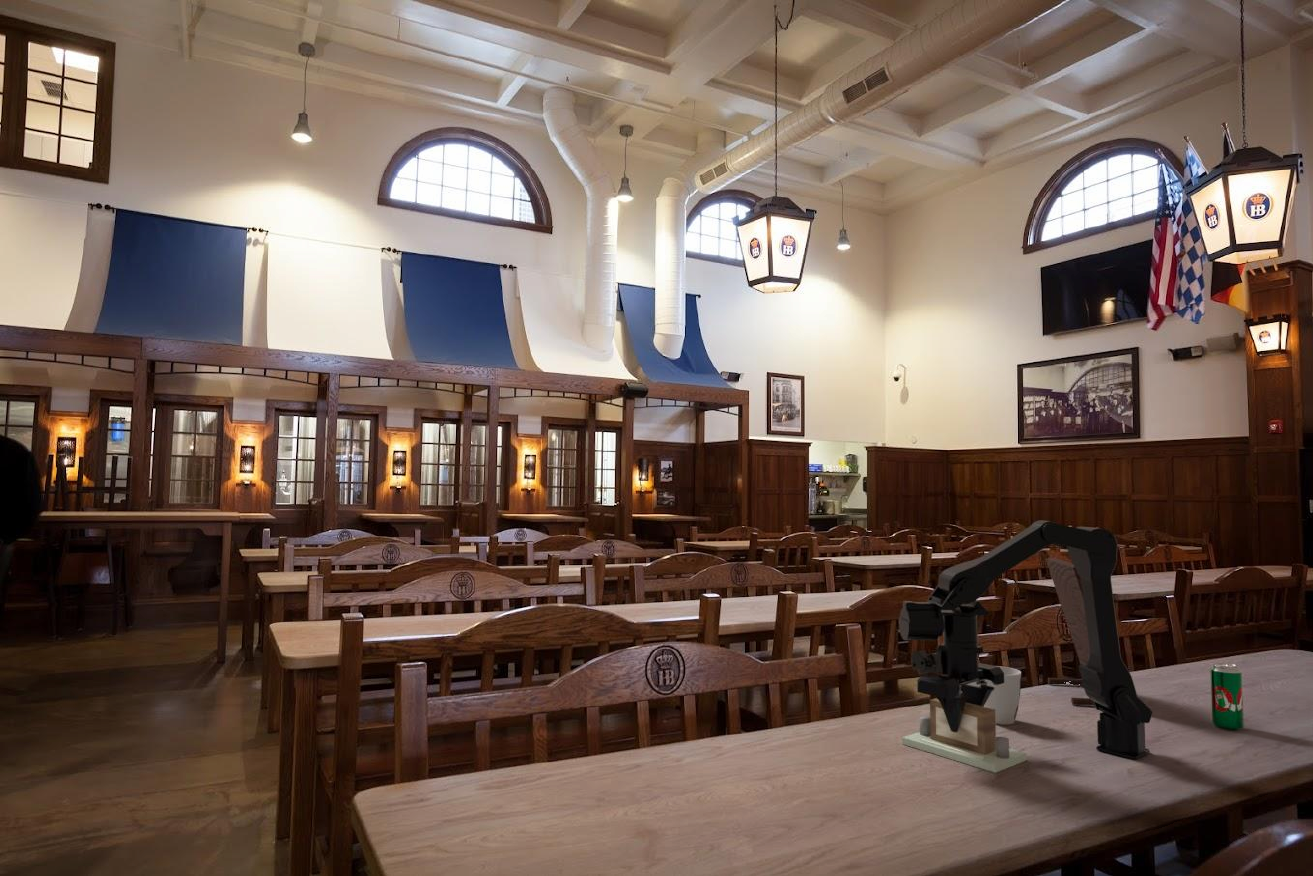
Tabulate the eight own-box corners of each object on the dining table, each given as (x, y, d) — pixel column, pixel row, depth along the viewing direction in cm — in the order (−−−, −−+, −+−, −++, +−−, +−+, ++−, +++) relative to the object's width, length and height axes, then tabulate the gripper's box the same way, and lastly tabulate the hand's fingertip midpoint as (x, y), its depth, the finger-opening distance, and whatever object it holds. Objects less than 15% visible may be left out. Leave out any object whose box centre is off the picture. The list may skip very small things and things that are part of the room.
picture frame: (1128, 709, 167) (1123, 566, 169) (1074, 706, 169) (1070, 565, 171) (1094, 685, 187) (1090, 558, 189) (1046, 683, 189) (1043, 557, 191)
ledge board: (1026, 760, 136) (1026, 735, 136) (995, 772, 130) (994, 746, 130) (934, 733, 150) (934, 711, 150) (902, 744, 144) (901, 720, 144)
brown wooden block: (996, 750, 137) (995, 709, 137) (984, 755, 135) (983, 713, 135) (942, 735, 145) (941, 696, 146) (930, 739, 143) (929, 700, 143)
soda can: (1233, 724, 157) (1231, 662, 158) (1250, 731, 152) (1247, 668, 153) (1206, 723, 157) (1204, 662, 158) (1222, 731, 152) (1219, 667, 153)
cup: (1029, 727, 154) (1028, 675, 155) (987, 727, 155) (986, 675, 155) (1011, 715, 162) (1010, 666, 163) (972, 715, 163) (971, 665, 163)
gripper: (950, 627, 153) (951, 709, 152) (890, 639, 142) (891, 727, 141) (1004, 636, 144) (1007, 723, 143) (945, 649, 133) (947, 744, 132)
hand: (962, 729), depth 140 cm, fingers open, 5 cm apart
